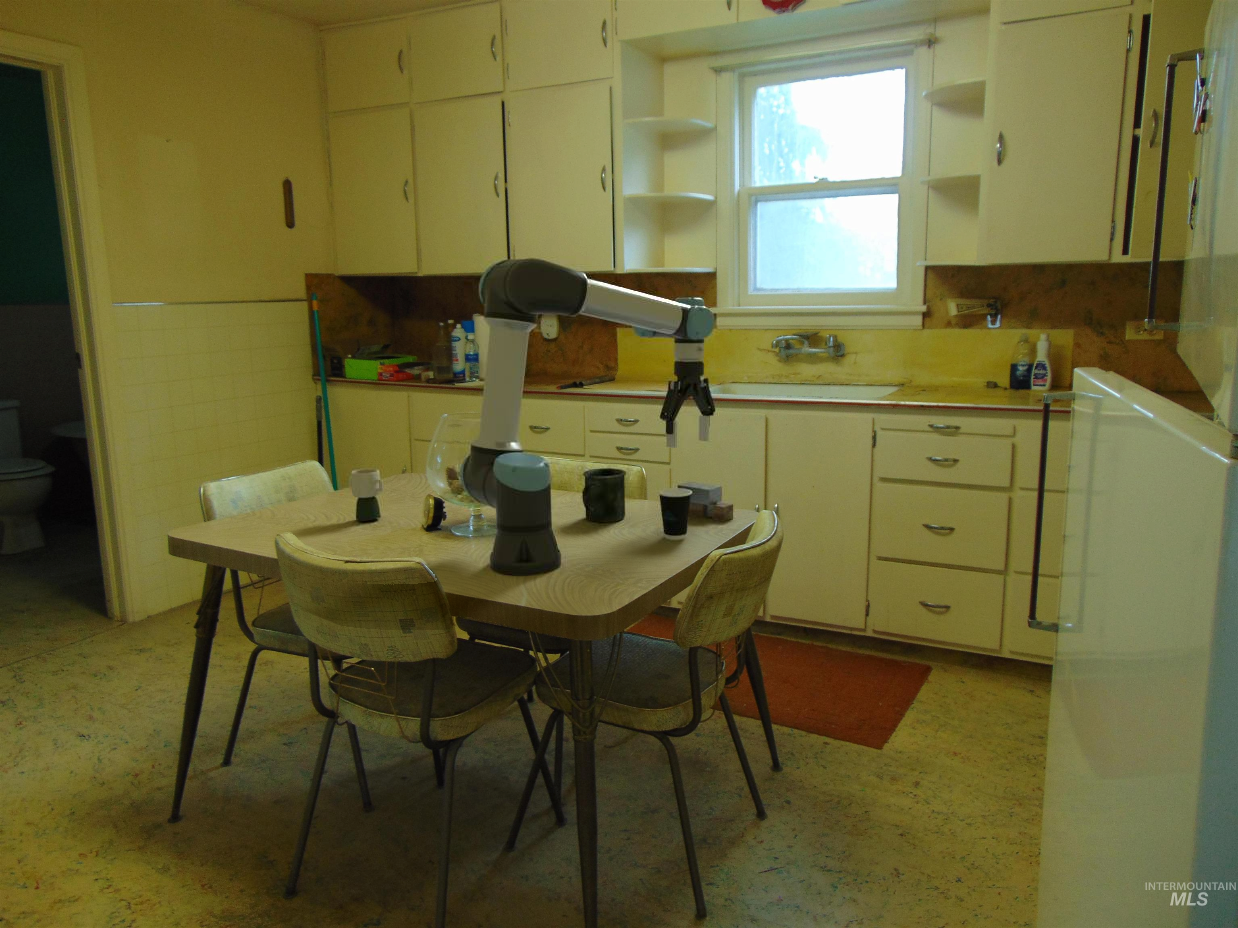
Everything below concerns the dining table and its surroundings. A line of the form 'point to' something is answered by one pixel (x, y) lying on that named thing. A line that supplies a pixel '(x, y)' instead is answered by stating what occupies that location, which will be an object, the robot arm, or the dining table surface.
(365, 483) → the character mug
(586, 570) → the dining table surface
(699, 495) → the clip
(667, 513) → the dixie cup
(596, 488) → the mug
